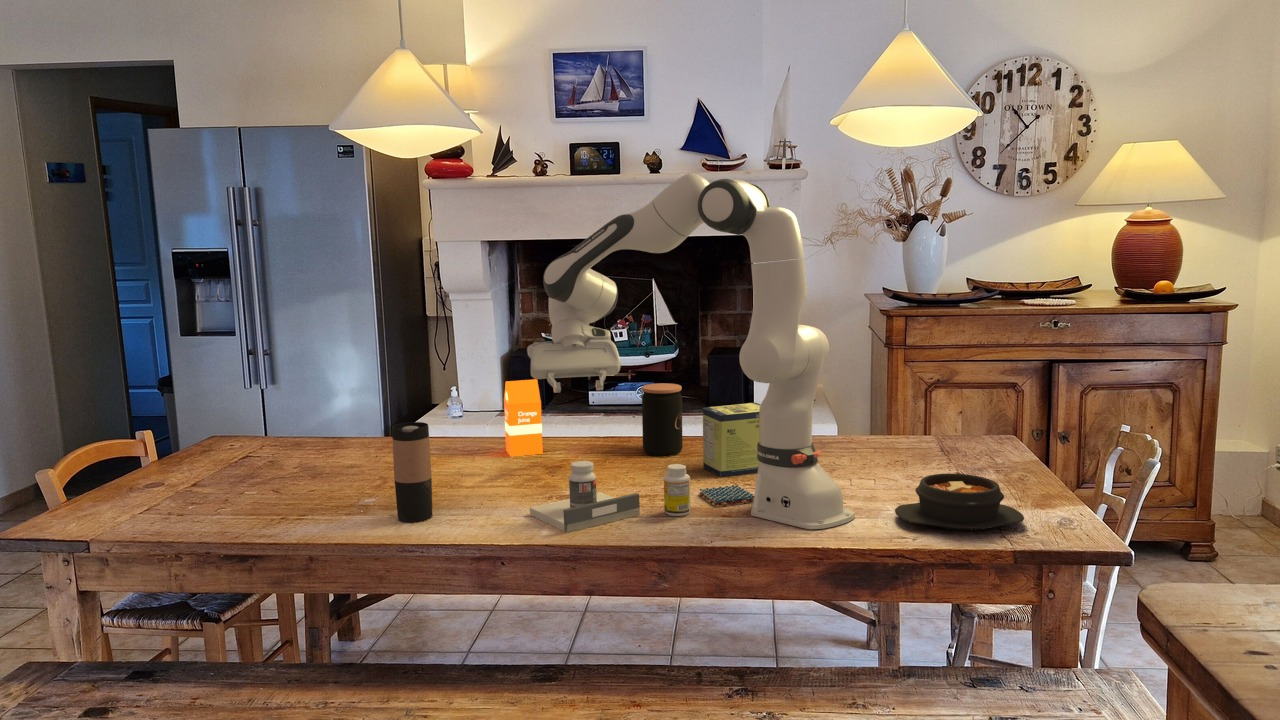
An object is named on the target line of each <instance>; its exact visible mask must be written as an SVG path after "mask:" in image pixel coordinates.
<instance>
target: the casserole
mask: <svg viewBox="0 0 1280 720" xmlns="http://www.w3.org/2000/svg"><path fill="white" fill-rule="evenodd" d="M915 493H916V495H917V496H918V500H919V502H913V503H906V504H899V505H898V506H897V507H895V510H894V512H895V514H896V516H897V517H899V518H900V519H902V520H904V521H905V522H908V523H910V524H916V525H925V526H934V527H938V528H941V529H945V530H950V531H958V530H959V531H961V532H962V531H963V532H967V531H968V532H971V531H982V530H984V529H992V528H996V527H1000V526H1004V525H1006V526H1008V525H1016V524H1019V523H1021V522H1024V520H1025V516H1024V515H1023V514H1022V513H1021V512H1020V511H1019V510H1017V509H1016V508H1013V507H1012V506H1009V505H1006V504H1001V502H1002V501H1003V500H1004V498H1005V495H1004V493H1003V492H1002V491H1001V488H1000V485H999V484H998V482H996V481H994V480H992V479H990V478H987V477H983V476H979V475H972V474H967V473H966V474H965V473H935V474H931V475H930V474H929V475H927V476H924V477H922V478H921V479H920V481H919V484H918V486H917V487H916V488H915Z"/></svg>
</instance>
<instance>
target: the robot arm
mask: <svg viewBox="0 0 1280 720" xmlns="http://www.w3.org/2000/svg"><path fill="white" fill-rule="evenodd" d="M702 224H705V225H706V226H708V227H709V228H711V229H713V230H715V231H717V232H721V233H727V234H732V235H737V236H741V235H742V236H743V237H745V238H746V239H745V240H747V243H748V246H749V252H750V253H749V254H750V264H751V266H750V267H751V276H752V279H751V280H752V290H753V291H752V292H753V294H752V295H753V302H752V303H753V307H752V313H751V320H750V326H749V330H748V334H747V337H746V340H745V341H744V343H743V344H742V346H741V348H740V351H739V356H738V357H739V358H738V359H739V365H740V367H741V370H742V372H743V373H744V375H746V376H747V378H748V379H749V380H751V381H752V382H756V383H762V384H768V387H767V388H768V389H767V391H766V394H765V395H764V398H763V399H762V401H761V403H760V404H761V405H760V409H759V442H758V444H757V459H758V461H759V466H758V472H757V473H756V480H755V488H754V494H753V495H754V499H753V502H752V503H751V510H750V511H751V512H750V516H751V517H756V518H760V519H763V520H769V521H772V522H777V523H781V524H784V525H790V526H794V527H796V528H797V527H798V528H802V529H806V530H821V529H828V528H833V527H838V526H840V525H843V524H846V523H849V522H851V521H852V520H854V519H855V516H856V515H855V514H856V513H855V511H853V510H851V509H849V508H846V507H844V500H843V499H844V497H843V491H842V489H841V487H840V485H838V483H837V482H835V480H834V479H833V478H832V477H831V476H830V475H829V474H828V473H827V471H826V470H825V469H824V468H823V467H822V466H821V465H820V464H819V459H818V457H822V454H821V453H822V452H823V451H822V450H817V451H816V448H815V446H814V443H813V442H812V440H813V439H812V438H813V437H812V436H813V435H812V433H813V430H812V429H813V408H814V400H815V396H816V392H817V387H818V383H819V380H820V376H821V371H822V368H823V367H824V365H825V363H826V362H827V360H828V358H829V354H830V343H829V340H828V337H827V336H826V335H825V333H824V332H823V331H822V330H821V329H819V328H817V327H814V326H812V325H805V324H800V319H801V313H802V309H803V306H804V304H805V302H806V300H807V297H808V284H807V274H806V273H807V272H806V260H805V251H804V246H803V245H804V243H803V239H802V234H801V230H800V226H799V223H798V219H797V217H796V215H795V213H794V212H792V211H791V210H790V209H787V208H785V207H780V206H773V207H771V203H770V199H769V197H768V194H767V193H766V192H765V191H764V189H762V188H761V187H760V186H758V185H757V184H753V183H749V182H747V181H745V180H742V179H730V178H721V179H717V180H714V181H712V182H709V181H708V180H707V179H706V178H704V177H703V176H701V175H700V174H696V173H686V174H684V175H682V176H680V177H679V178H677V179H676V180H674V181H673V182H671V184H669V185H668V186H666V187H665V188H664V189H663V190H662V191H661V192H659V193H658V194H657V196H655V197H654V199H652V200H651V201H650V202H648V203H647V204H646V205H645V206H643V207H641V208H640V209H637V210H636V211H633V212H631V213H627V214H626V213H625V214H620V215H618V216H616V217H614V218H613V219H611V220H609V221H608V222H607V223H606V224H604V225H603V226H602V227H599V229H598V230H596V231H595V232H593V233H592V234H591V235H589V236H588V237H587V238H586V239H584V240H583V241H582V242H580V243H579V244H577V245H576V246H575V247H573V248H572V249H571V250H569V251H568V252H566V253H563V254H562V255H560V256H558V257H557V258H555V259H553V260H552V261H551V262H550V263H549V264H548V265H547V266H546V267H545V270H544V271H543V275H542V279H543V280H542V282H543V283H542V284H543V287H544V290H545V293H546V295H547V296H548V317H549V321H550V324H551V329H550V330H551V340H552V341H540V342H539V341H536V342H533V343H532V344H529V345H528V346H527V348H526V352H527V357H528V358H529V359H530V376H531V377H532V378H533V380H535V379H537V380H543V379H545V380H547V383H548V384H549V385H550V386H551V387H552V388H553V393H554V394H555V393H558V394H559V393H561V391H562V385H561V382H560V381H559V382H557V380H556V379H562V378H563V379H564V378H584V377H599V379H598V380H597V379H596V380H595V390H596V391H604V382H605V380H606V379H607V378H606V377H607V376H616V375H618V373H619V372H620V371H621V358H620V354H619V351H618V348H617V345H616V343H615V342H613V341H612V340H611V338H612V337H611V336H612V335H611V332H610V330H608V329H603V328H600V327H595V326H592V325H590V324H593V323H596V322H597V321H600V320H601V319H603V318H605V317H607V316H608V315H610V314H611V313H612V312H613V311H614V309H615V308H616V305H617V303H618V298H619V291H618V286H617V284H616V281H614V280H613V279H610V278H609V277H607V276H606V275H604V274H602V273H600V272H598V271H595V269H594V270H593V269H592V267H593V266H595V265H596V264H598V263H599V262H600V261H601V260H603V259H604V258H606V257H607V256H608V255H610V254H612V253H613V252H616V251H621V250H634V251H641V252H647V253H649V254H650V253H651V254H663V253H668V252H670V251H672V250H674V249H675V248H677V247H678V246H680V245H681V244H682V243H683V242H684V241H685V240H687V238H688V237H689V236H690V235H691V234H692V233H693V232H694V231H695V230H696V229H697V228H698V227H699V226H700V225H702Z"/></svg>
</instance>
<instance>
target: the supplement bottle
mask: <svg viewBox="0 0 1280 720" xmlns="http://www.w3.org/2000/svg"><path fill="white" fill-rule="evenodd" d="M666 469H667V471H666V474H665V475H664V476H663V498H664V499H663V502H664V504H663V505H664V513H665V514H666V515H668V516H671V517H683V516H687V515H689V514H690V512H691V477H690V475H689V474H687V466H686V465H685V464H679V463H673V464H669V465H667V468H666Z"/></svg>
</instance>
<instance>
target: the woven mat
mask: <svg viewBox="0 0 1280 720" xmlns="http://www.w3.org/2000/svg"><path fill="white" fill-rule="evenodd" d="M705 488H706V489H702V488H699V490H700V491H699V493H698V496H700V497H701V498H702V499H703V500H705V502H706V503H709V504H711V505H712V506H714V507H715V508H722V506H723V507H730V506H738V505H746V504H752V502H753V499H754V494H753V493H752V492H749V491H748V490H745V489H744V488H742V487H741V486H740V485H734V484H732V485H731V486H728V485H726V486H724V487H722V486H719V487H715V486H714V487H711V488H709V487H705ZM717 505H718V506H717Z"/></svg>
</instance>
